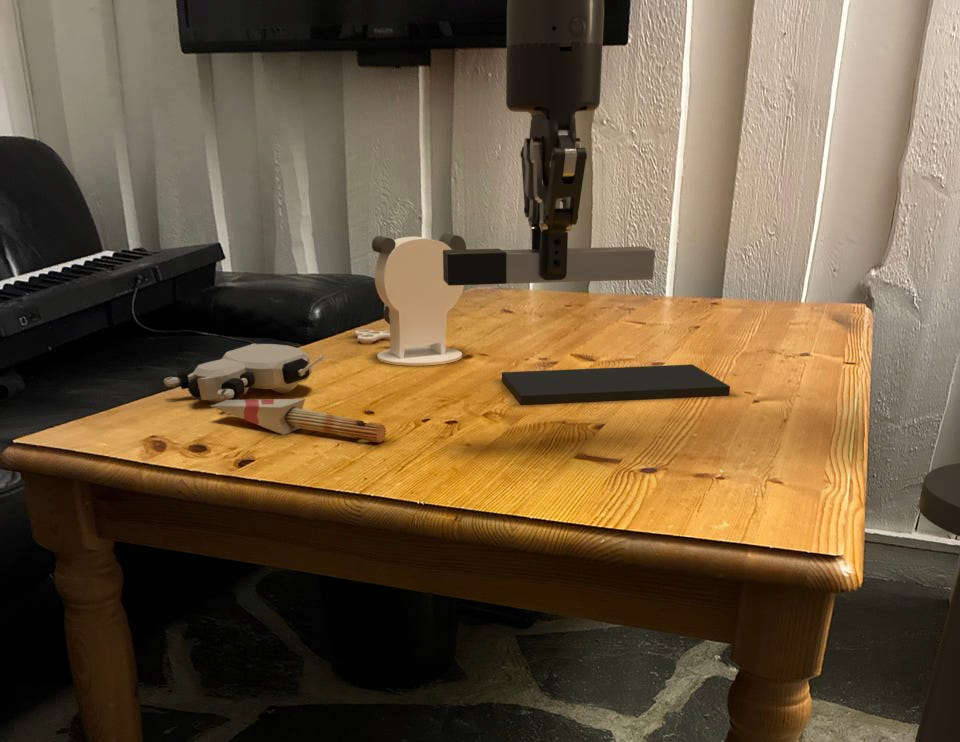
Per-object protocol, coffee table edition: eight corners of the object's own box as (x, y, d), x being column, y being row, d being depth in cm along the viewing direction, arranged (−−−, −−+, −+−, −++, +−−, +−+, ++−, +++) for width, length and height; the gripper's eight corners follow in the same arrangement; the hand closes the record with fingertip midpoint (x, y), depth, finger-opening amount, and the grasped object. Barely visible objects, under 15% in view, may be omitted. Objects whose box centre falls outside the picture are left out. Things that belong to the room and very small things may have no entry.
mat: (691, 372, 116) (692, 364, 116) (729, 395, 106) (730, 386, 105) (501, 380, 113) (501, 372, 113) (521, 404, 103) (521, 395, 102)
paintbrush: (230, 384, 98) (391, 415, 90) (232, 410, 99) (391, 443, 92) (204, 392, 95) (368, 424, 87) (207, 418, 96) (369, 453, 89)
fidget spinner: (354, 334, 140) (353, 329, 139) (396, 332, 141) (396, 327, 141) (358, 343, 134) (358, 337, 133) (403, 341, 135) (402, 335, 135)
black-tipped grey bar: (448, 285, 79) (447, 253, 78) (443, 280, 82) (442, 249, 80) (653, 279, 81) (655, 248, 80) (641, 275, 84) (644, 245, 83)
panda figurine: (446, 345, 133) (443, 230, 126) (480, 360, 124) (479, 236, 117) (365, 353, 128) (358, 234, 121) (395, 368, 119) (389, 241, 112)
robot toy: (231, 424, 99) (333, 387, 109) (222, 381, 97) (327, 348, 107) (161, 407, 106) (263, 373, 116) (152, 366, 104) (257, 336, 113)
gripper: (491, 49, 79) (491, 268, 87) (525, 32, 67) (521, 289, 75) (578, 49, 80) (570, 266, 88) (627, 33, 68) (612, 286, 76)
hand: (548, 275), depth 81 cm, fingers closed on black-tipped grey bar, 3 cm apart
